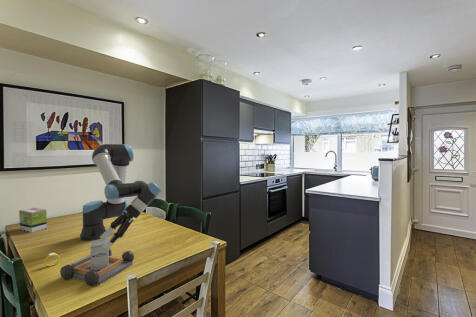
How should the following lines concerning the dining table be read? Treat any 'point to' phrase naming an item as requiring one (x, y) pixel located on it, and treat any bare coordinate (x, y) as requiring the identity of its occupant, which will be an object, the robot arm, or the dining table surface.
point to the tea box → (33, 219)
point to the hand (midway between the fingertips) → (103, 243)
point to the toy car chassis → (91, 277)
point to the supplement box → (99, 255)
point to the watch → (50, 256)
